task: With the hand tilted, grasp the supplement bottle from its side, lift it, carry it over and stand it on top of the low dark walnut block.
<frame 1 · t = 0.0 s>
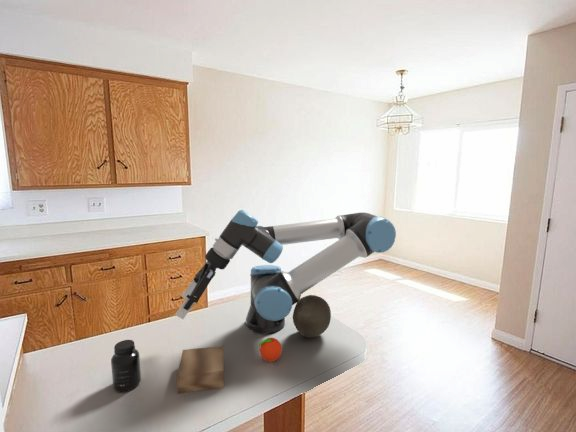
hand: (182, 306, 97), 15 cm above the breakfast bar, tool tilted 35°, fingers open, 13 cm apart
clementine: (269, 360, 95), on the breakfast bar
walnut block: (202, 375, 87), on the breakfast bar
supplement bottle: (127, 385, 83), on the breakfast bar
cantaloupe: (311, 336, 110), on the breakfast bar
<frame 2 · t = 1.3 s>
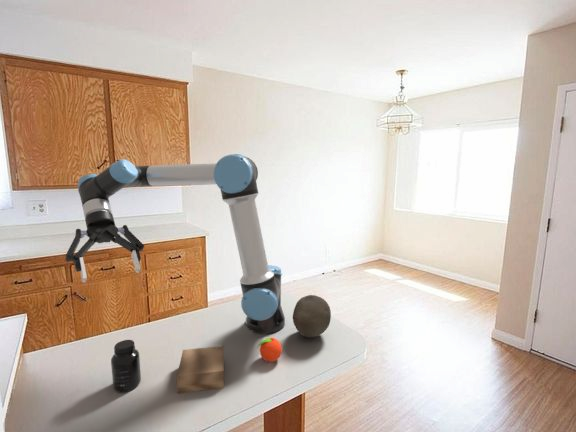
hand: (112, 275, 87), 28 cm above the breakfast bar, tool tilted 45°, fingers open, 13 cm apart
nothing on the breakfast bar moved.
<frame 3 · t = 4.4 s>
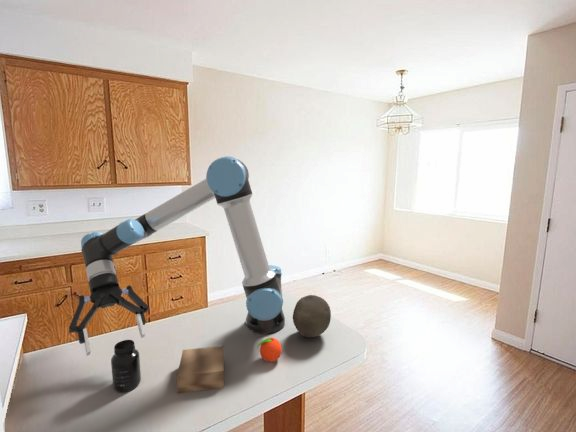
hand: (117, 344, 84), 10 cm above the breakfast bar, tool tilted 45°, fingers open, 13 cm apart
nothing on the breakfast bar moved.
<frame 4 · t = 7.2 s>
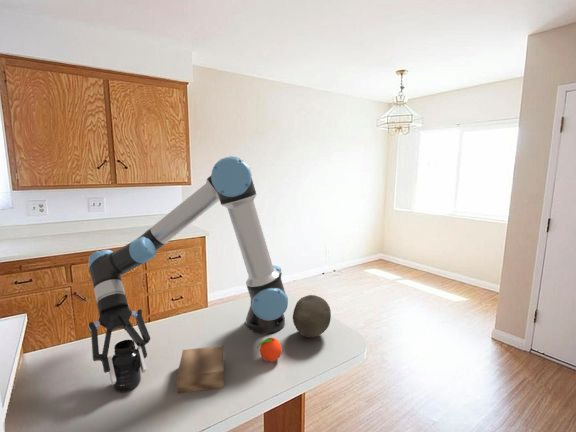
hand: (129, 376, 80), 4 cm above the breakfast bar, tool tilted 45°, fingers closed on supplement bottle, 7 cm apart
supplement bottle: (127, 385, 83), on the breakfast bar, touching gripper
everything else where it was.
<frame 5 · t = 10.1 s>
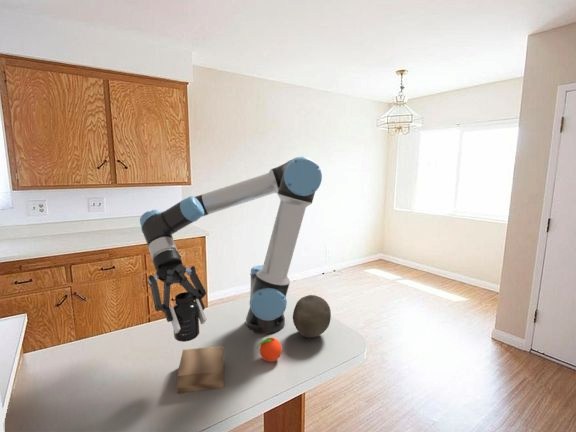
hand: (191, 326, 82), 17 cm above the breakfast bar, tool tilted 45°, fingers closed on supplement bottle, 7 cm apart
supplement bottle: (186, 336, 85), point 12 cm above the breakfast bar, touching gripper
everything else where it was.
when the fingers open (10 cm above the breakfast bar, at t = 13.5 s): supplement bottle stays where it is, resting on walnut block.
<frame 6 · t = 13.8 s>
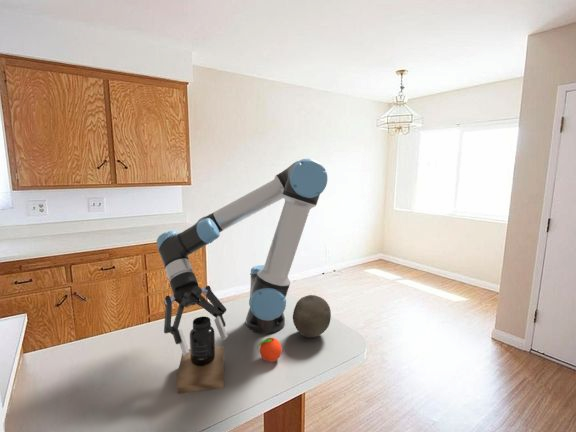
hand: (206, 346, 84), 11 cm above the breakfast bar, tool tilted 45°, fingers open, 11 cm apart
supplement bottle: (202, 359, 87), point 5 cm above the breakfast bar, touching walnut block
everything else where it was.
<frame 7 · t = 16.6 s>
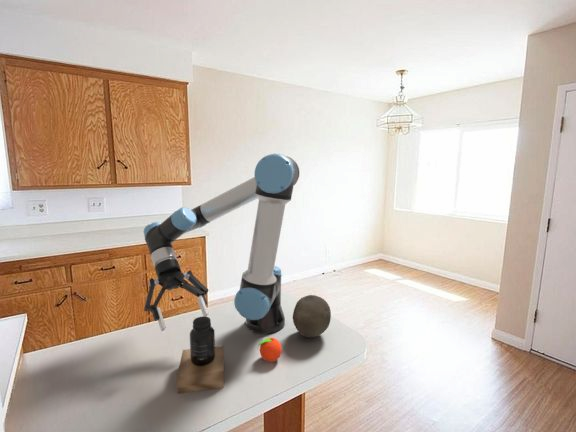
hand: (186, 322, 93), 12 cm above the breakfast bar, tool tilted 45°, fingers open, 13 cm apart
nothing on the breakfast bar moved.
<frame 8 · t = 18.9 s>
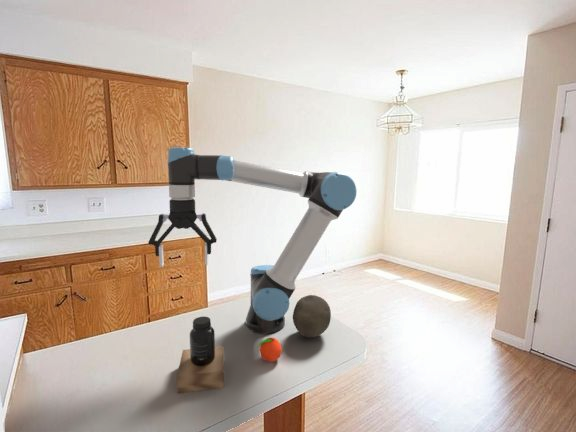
hand: (184, 265, 96), 29 cm above the breakfast bar, tool pointing down, fingers open, 13 cm apart
nothing on the breakfast bar moved.
at the end: supplement bottle inside the target area on the walnut block (0.3 cm from its centre), point 4.8 cm above the walnut block's base; supplement bottle tilted 0°; the gripper is holding nothing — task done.
